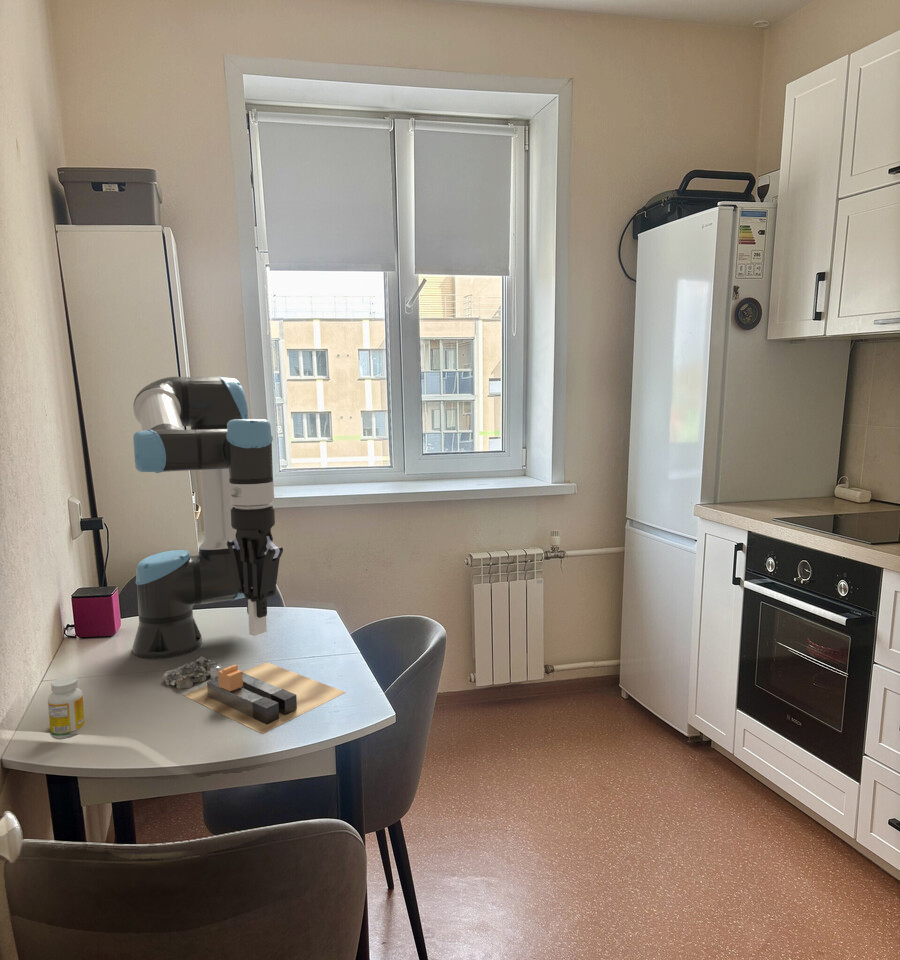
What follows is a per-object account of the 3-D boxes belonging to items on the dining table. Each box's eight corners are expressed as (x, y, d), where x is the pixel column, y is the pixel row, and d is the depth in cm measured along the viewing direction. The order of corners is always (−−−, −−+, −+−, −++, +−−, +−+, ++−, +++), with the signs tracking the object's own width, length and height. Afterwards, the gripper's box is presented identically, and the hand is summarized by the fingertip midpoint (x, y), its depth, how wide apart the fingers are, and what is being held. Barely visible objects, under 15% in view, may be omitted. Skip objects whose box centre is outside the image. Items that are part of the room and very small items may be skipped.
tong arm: (226, 688, 130) (226, 674, 129) (238, 683, 132) (237, 669, 132) (285, 715, 119) (284, 700, 118) (296, 709, 121) (296, 694, 120)
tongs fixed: (198, 692, 128) (196, 671, 128) (219, 683, 132) (218, 663, 132) (266, 724, 115) (265, 701, 115) (288, 714, 119) (287, 691, 119)
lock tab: (218, 686, 123) (217, 667, 123) (231, 681, 126) (230, 662, 125) (230, 691, 121) (229, 672, 121) (242, 686, 124) (241, 667, 123)
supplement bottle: (57, 743, 112) (52, 690, 111) (45, 733, 115) (41, 682, 114) (90, 731, 116) (86, 680, 115) (78, 721, 119) (74, 672, 118)
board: (183, 700, 127) (183, 695, 127) (266, 667, 143) (266, 662, 143) (262, 740, 112) (262, 733, 112) (346, 697, 128) (345, 692, 128)
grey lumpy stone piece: (182, 698, 129) (180, 678, 129) (159, 689, 133) (158, 670, 133) (226, 678, 138) (225, 660, 138) (204, 670, 142) (202, 652, 142)
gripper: (212, 505, 116) (218, 631, 119) (259, 511, 108) (264, 646, 111) (246, 500, 122) (252, 620, 125) (293, 505, 114) (298, 634, 117)
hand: (258, 632), depth 118 cm, fingers closed
